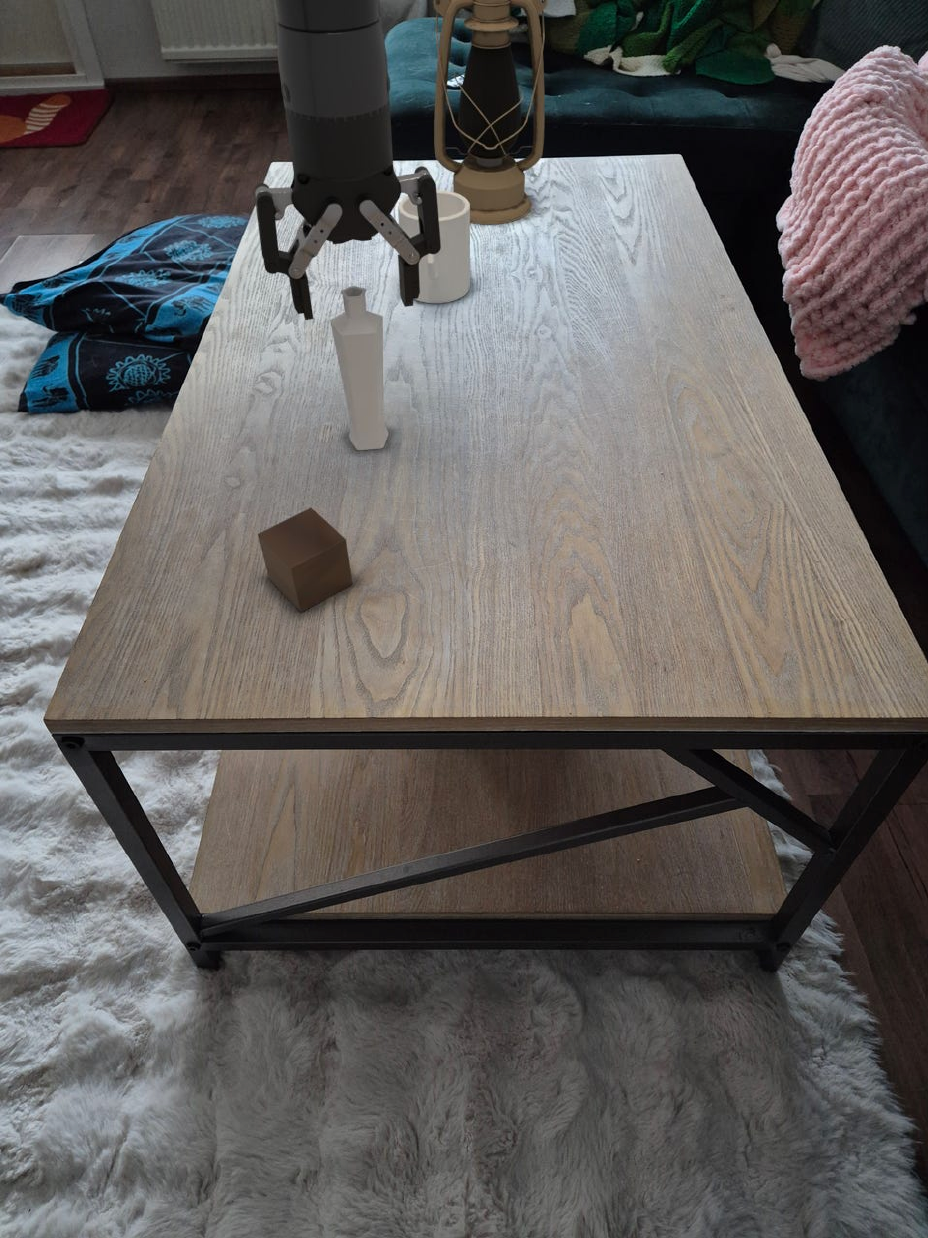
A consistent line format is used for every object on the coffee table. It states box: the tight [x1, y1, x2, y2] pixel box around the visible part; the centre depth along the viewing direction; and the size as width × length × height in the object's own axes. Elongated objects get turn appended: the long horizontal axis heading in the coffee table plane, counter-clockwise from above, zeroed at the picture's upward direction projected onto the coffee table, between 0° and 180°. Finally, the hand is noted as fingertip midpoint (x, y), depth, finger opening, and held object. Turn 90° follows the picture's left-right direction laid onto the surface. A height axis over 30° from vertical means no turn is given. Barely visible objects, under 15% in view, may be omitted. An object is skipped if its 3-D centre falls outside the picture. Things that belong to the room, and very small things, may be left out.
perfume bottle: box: [329, 285, 390, 451], centre depth 77 cm, size 5×4×15 cm
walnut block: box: [257, 507, 353, 613], centre depth 68 cm, size 5×5×5 cm
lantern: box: [433, 0, 548, 225], centre depth 108 cm, size 15×12×30 cm
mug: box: [397, 189, 471, 304], centre depth 98 cm, size 8×12×10 cm
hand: (357, 308), depth 73 cm, fingers open, 8 cm apart
